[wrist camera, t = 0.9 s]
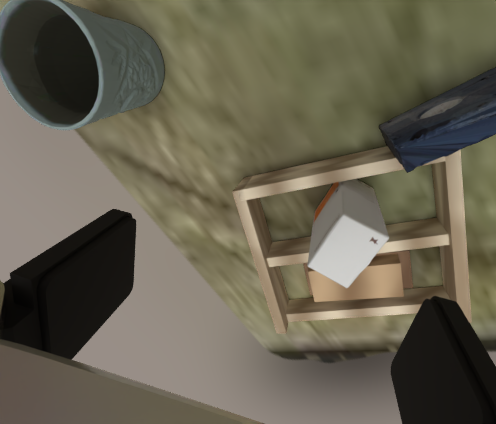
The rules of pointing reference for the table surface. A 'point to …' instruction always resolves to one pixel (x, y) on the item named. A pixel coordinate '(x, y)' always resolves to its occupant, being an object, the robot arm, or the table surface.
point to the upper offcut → (362, 282)
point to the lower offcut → (403, 255)
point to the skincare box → (346, 232)
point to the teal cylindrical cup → (75, 63)
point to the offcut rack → (400, 238)
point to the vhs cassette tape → (444, 123)
